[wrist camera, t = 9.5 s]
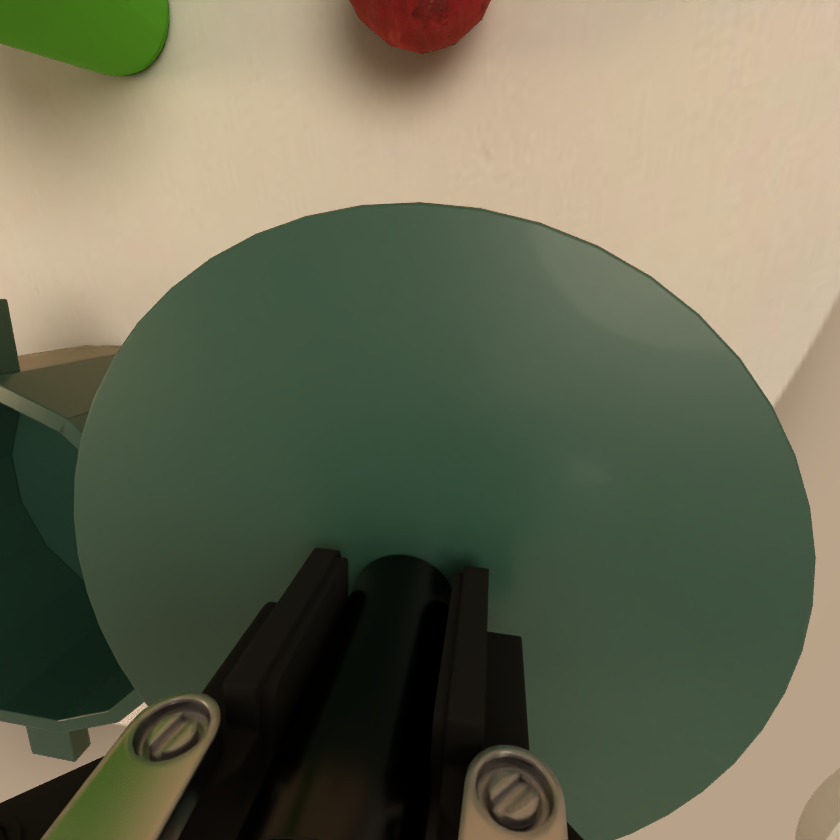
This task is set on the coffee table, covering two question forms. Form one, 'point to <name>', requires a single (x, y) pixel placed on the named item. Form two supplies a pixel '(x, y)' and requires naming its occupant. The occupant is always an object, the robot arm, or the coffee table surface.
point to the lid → (451, 507)
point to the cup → (88, 31)
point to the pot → (49, 554)
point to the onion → (420, 21)
